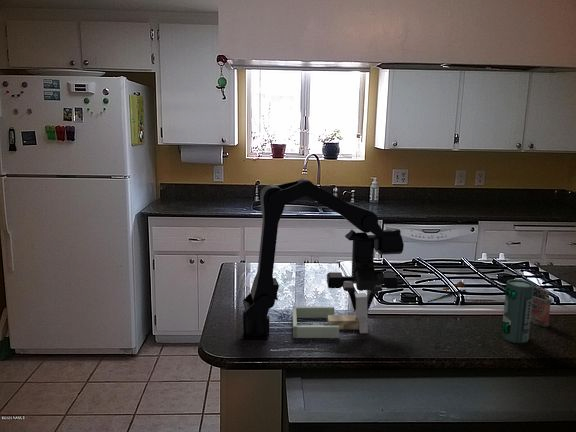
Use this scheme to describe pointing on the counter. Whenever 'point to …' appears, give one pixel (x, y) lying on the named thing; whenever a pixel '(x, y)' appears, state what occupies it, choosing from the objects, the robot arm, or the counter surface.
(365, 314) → the grey stepped block
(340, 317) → the chip
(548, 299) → the red printed box
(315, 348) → the counter surface
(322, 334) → the green u-shaped frame
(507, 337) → the can
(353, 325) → the chip
